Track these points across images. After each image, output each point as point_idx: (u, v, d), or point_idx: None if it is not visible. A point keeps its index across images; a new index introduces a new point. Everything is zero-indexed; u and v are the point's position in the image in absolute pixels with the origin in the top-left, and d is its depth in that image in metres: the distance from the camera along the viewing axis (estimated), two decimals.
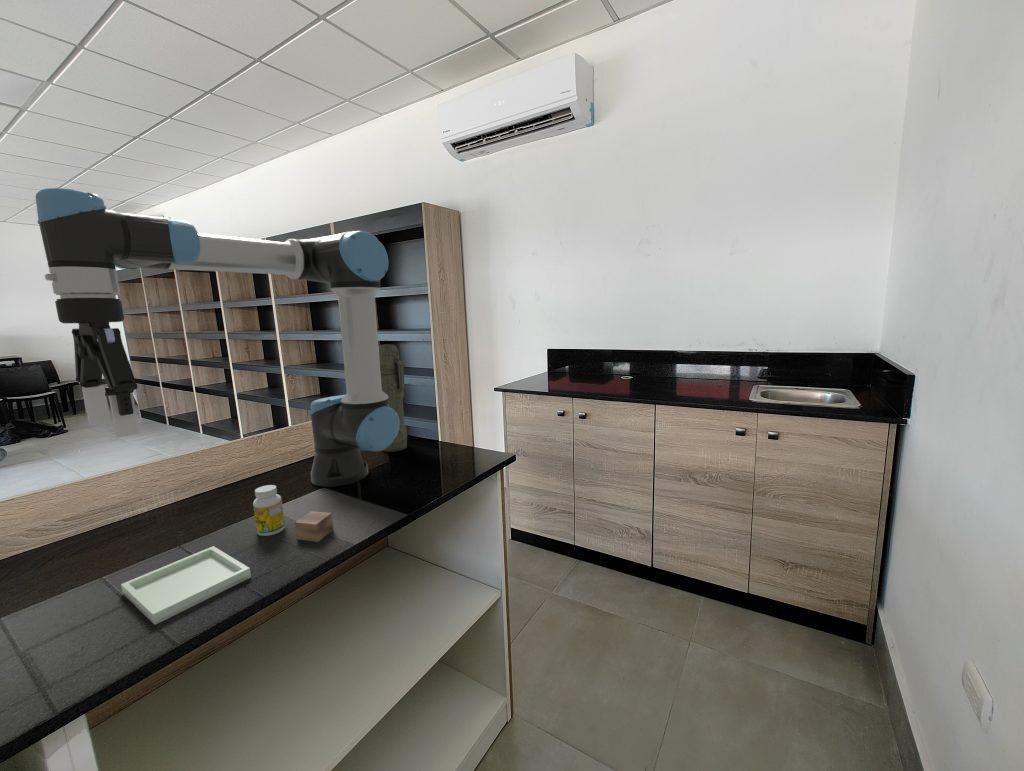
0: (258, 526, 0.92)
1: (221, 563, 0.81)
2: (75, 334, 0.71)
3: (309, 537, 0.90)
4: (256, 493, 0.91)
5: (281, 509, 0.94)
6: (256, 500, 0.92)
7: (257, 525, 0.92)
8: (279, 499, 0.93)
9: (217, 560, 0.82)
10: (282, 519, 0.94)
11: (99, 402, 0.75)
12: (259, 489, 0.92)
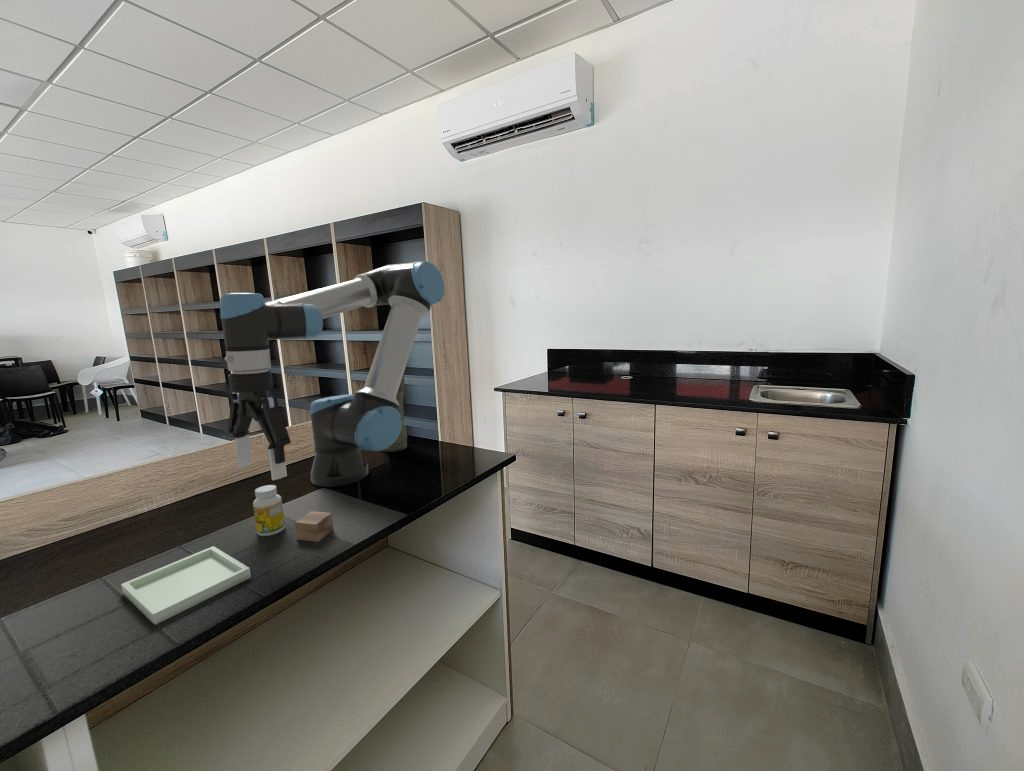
0: (258, 526, 0.92)
1: (221, 563, 0.81)
2: (233, 397, 0.92)
3: (309, 537, 0.90)
4: (256, 493, 0.91)
5: (281, 509, 0.94)
6: (256, 500, 0.92)
7: (257, 525, 0.92)
8: (279, 499, 0.93)
9: (217, 560, 0.82)
10: (282, 519, 0.94)
11: (246, 449, 0.95)
12: (259, 489, 0.92)
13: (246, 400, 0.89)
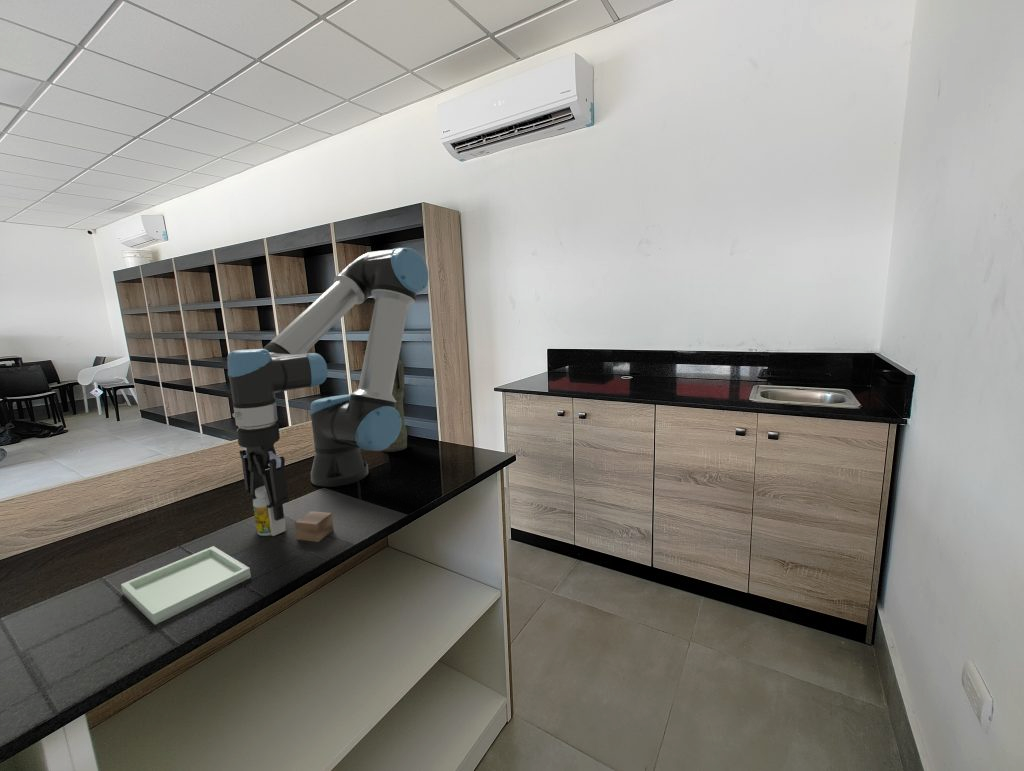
0: (257, 526, 0.92)
1: (221, 563, 0.81)
2: (242, 453, 0.94)
3: (309, 537, 0.90)
4: (256, 493, 0.91)
5: None
6: (256, 500, 0.92)
7: (257, 525, 0.92)
8: None
9: (217, 560, 0.82)
10: None
11: None
12: (259, 489, 0.92)
13: (253, 448, 0.91)
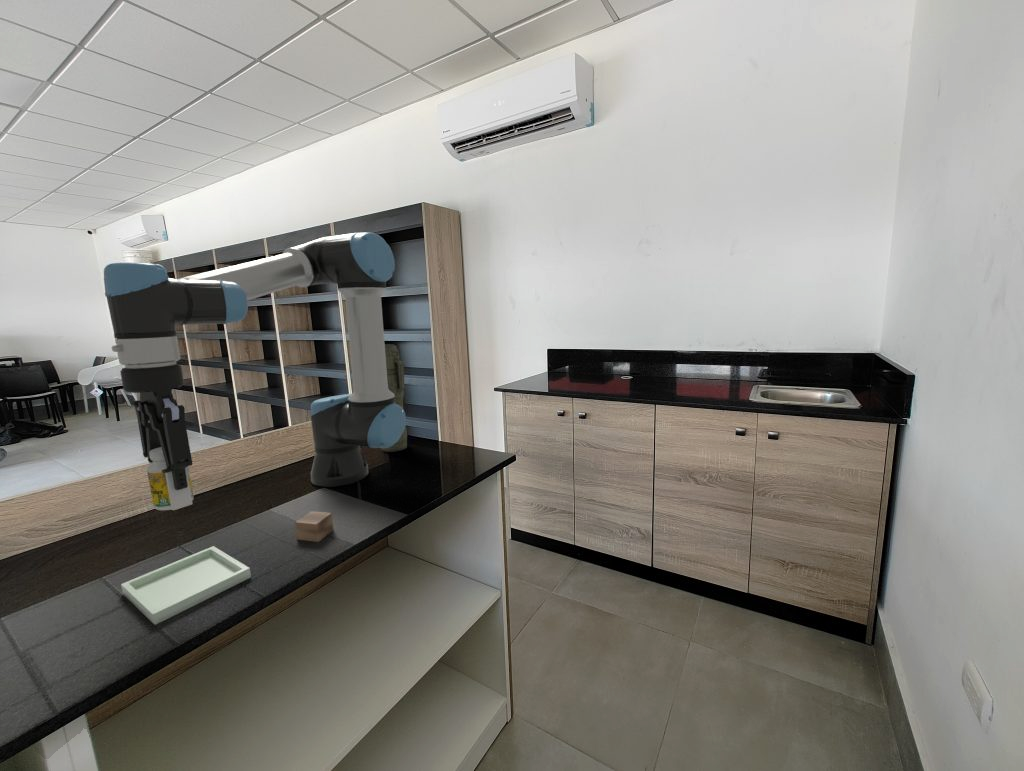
0: (153, 497, 0.71)
1: (221, 563, 0.81)
2: (137, 405, 0.73)
3: (309, 537, 0.90)
4: (150, 454, 0.70)
5: None
6: (151, 464, 0.71)
7: (152, 496, 0.71)
8: None
9: (217, 560, 0.82)
10: None
11: None
12: (156, 450, 0.71)
13: (145, 395, 0.70)
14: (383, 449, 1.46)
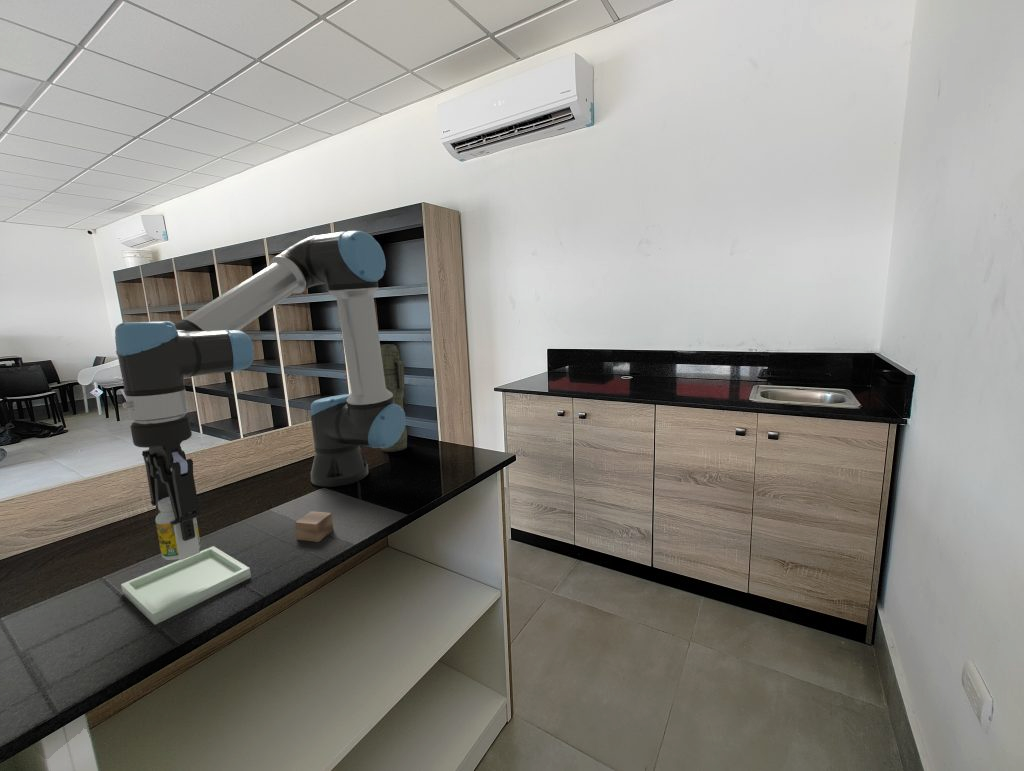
0: (161, 547, 0.72)
1: (221, 563, 0.81)
2: (145, 455, 0.74)
3: (309, 537, 0.90)
4: (159, 505, 0.71)
5: None
6: (159, 514, 0.72)
7: (160, 546, 0.72)
8: None
9: (217, 560, 0.82)
10: None
11: None
12: (164, 500, 0.73)
13: (154, 447, 0.71)
14: (383, 449, 1.46)
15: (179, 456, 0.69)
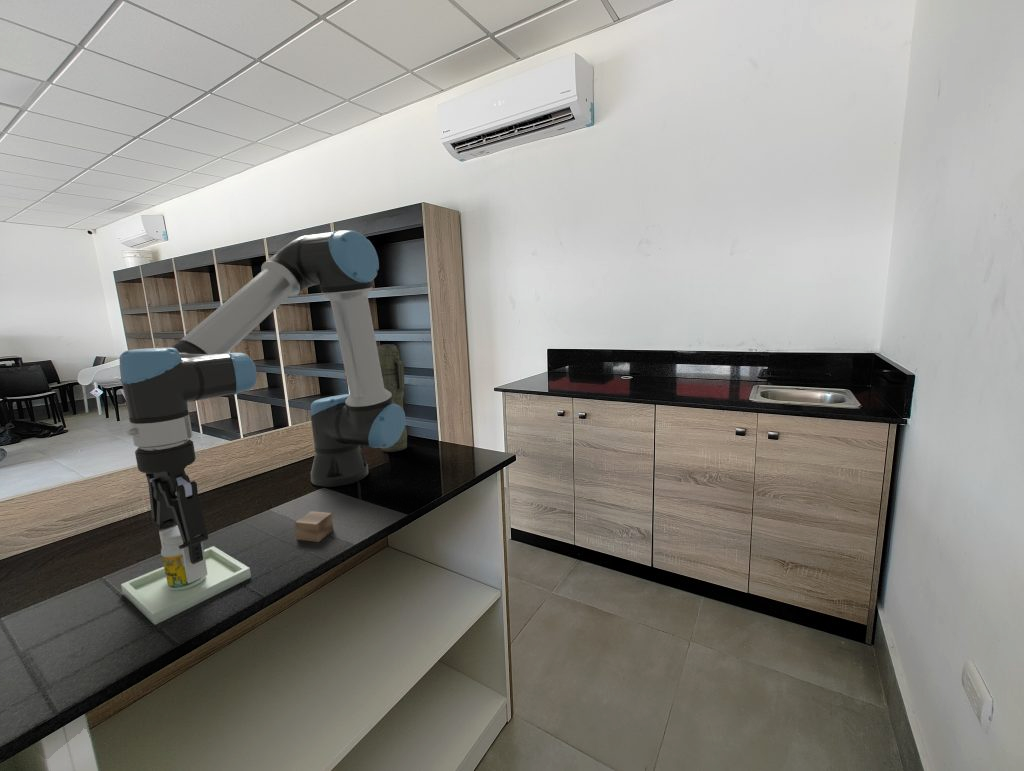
0: (167, 578, 0.73)
1: (221, 563, 0.81)
2: (149, 476, 0.75)
3: (309, 537, 0.90)
4: (163, 538, 0.72)
5: None
6: (165, 547, 0.73)
7: (167, 578, 0.73)
8: None
9: (217, 560, 0.82)
10: None
11: None
12: (169, 532, 0.73)
13: (159, 475, 0.72)
14: (383, 449, 1.46)
15: (183, 480, 0.70)
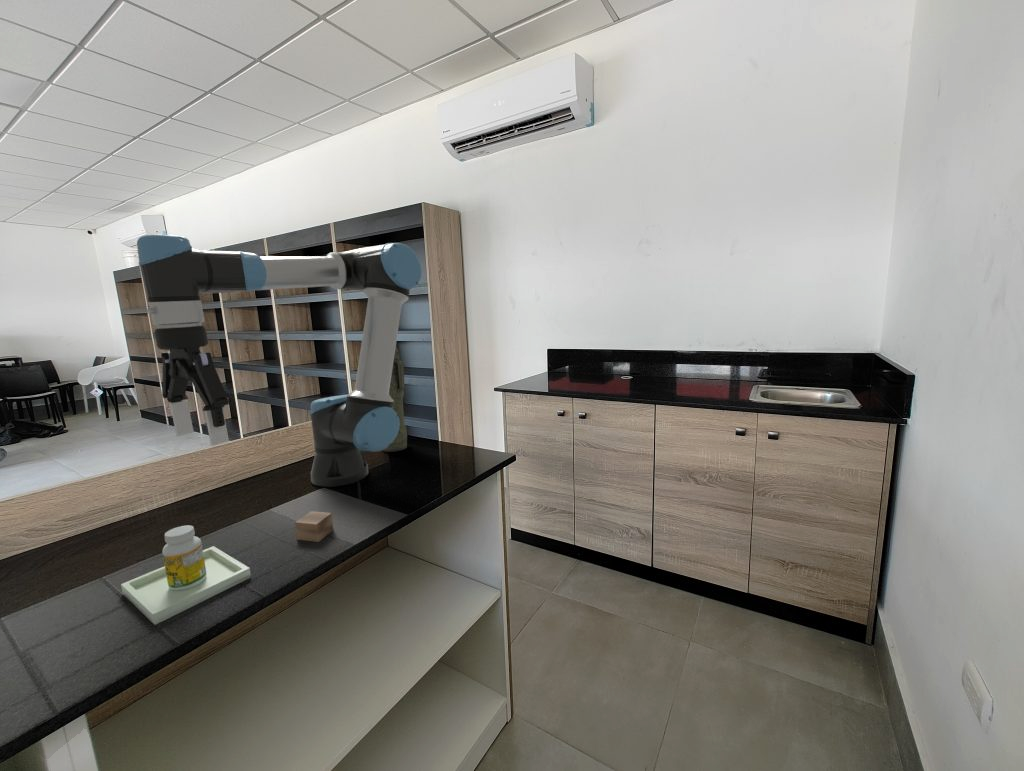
0: (168, 578, 0.73)
1: (221, 563, 0.81)
2: (164, 357, 0.82)
3: (309, 537, 0.90)
4: (165, 537, 0.73)
5: (200, 556, 0.75)
6: (166, 546, 0.73)
7: (167, 577, 0.73)
8: (197, 544, 0.75)
9: (217, 560, 0.82)
10: (201, 568, 0.75)
11: (184, 415, 0.86)
12: (171, 532, 0.74)
13: (177, 358, 0.80)
14: (383, 449, 1.46)
15: None
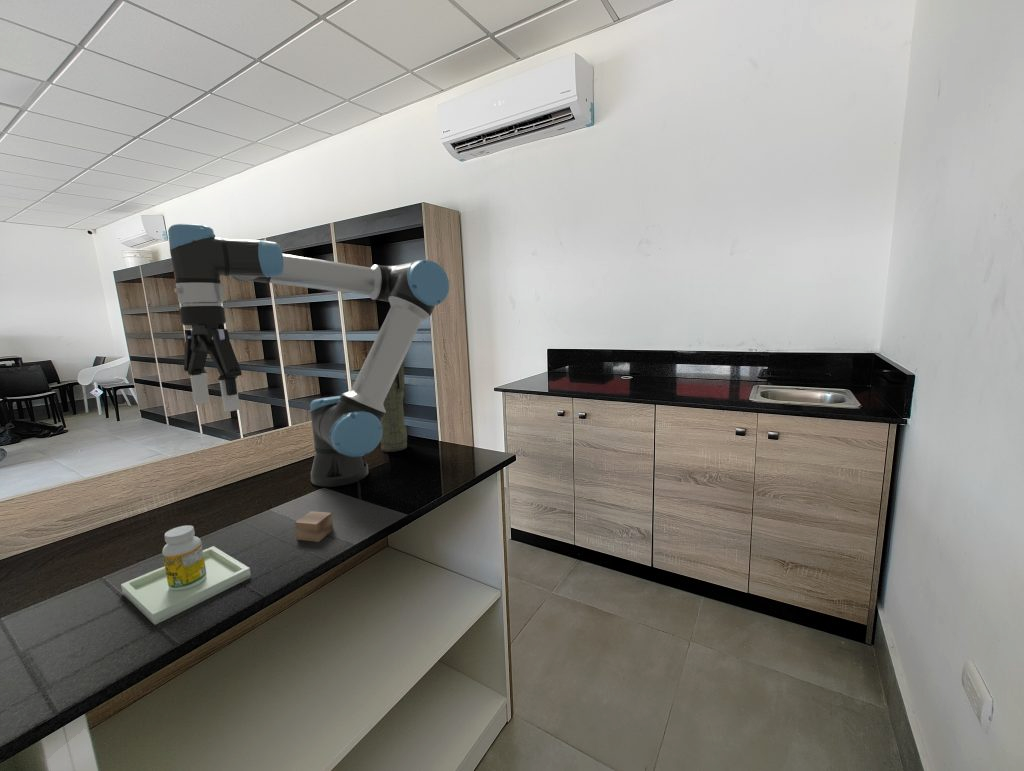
0: (168, 578, 0.73)
1: (221, 563, 0.81)
2: (187, 333, 0.92)
3: (309, 537, 0.90)
4: (165, 538, 0.73)
5: (200, 556, 0.75)
6: (166, 546, 0.73)
7: (167, 577, 0.73)
8: (197, 544, 0.75)
9: (217, 560, 0.82)
10: (201, 568, 0.75)
11: (202, 387, 0.96)
12: (171, 532, 0.74)
13: (198, 334, 0.90)
14: (383, 449, 1.46)
15: None
